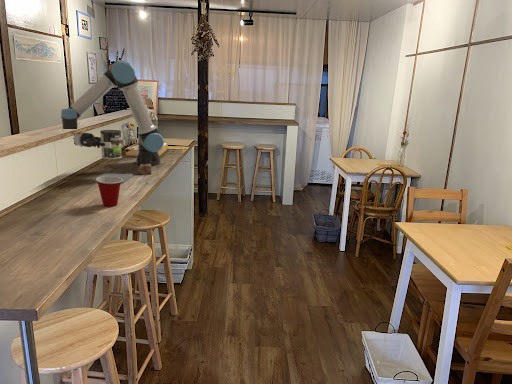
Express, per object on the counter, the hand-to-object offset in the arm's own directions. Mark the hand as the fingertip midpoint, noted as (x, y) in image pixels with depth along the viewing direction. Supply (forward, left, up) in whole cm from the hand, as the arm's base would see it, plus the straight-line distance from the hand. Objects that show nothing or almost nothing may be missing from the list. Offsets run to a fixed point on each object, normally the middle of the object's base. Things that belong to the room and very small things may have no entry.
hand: (117, 143), depth 205 cm
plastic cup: (-11, +42, -20) cm, 47 cm away
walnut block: (-9, -17, -20) cm, 28 cm away
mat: (+4, -1, -20) cm, 20 cm away
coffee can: (+4, -1, -8) cm, 9 cm away
